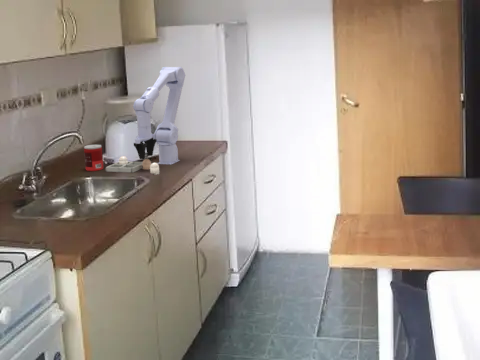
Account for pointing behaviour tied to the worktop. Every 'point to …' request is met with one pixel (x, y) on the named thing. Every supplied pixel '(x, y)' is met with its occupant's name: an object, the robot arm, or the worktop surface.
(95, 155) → the canned food
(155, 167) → the cream egg loose
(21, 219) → the worktop surface
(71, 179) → the worktop surface
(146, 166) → the brown egg
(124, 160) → the cream egg seated
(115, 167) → the egg tray
